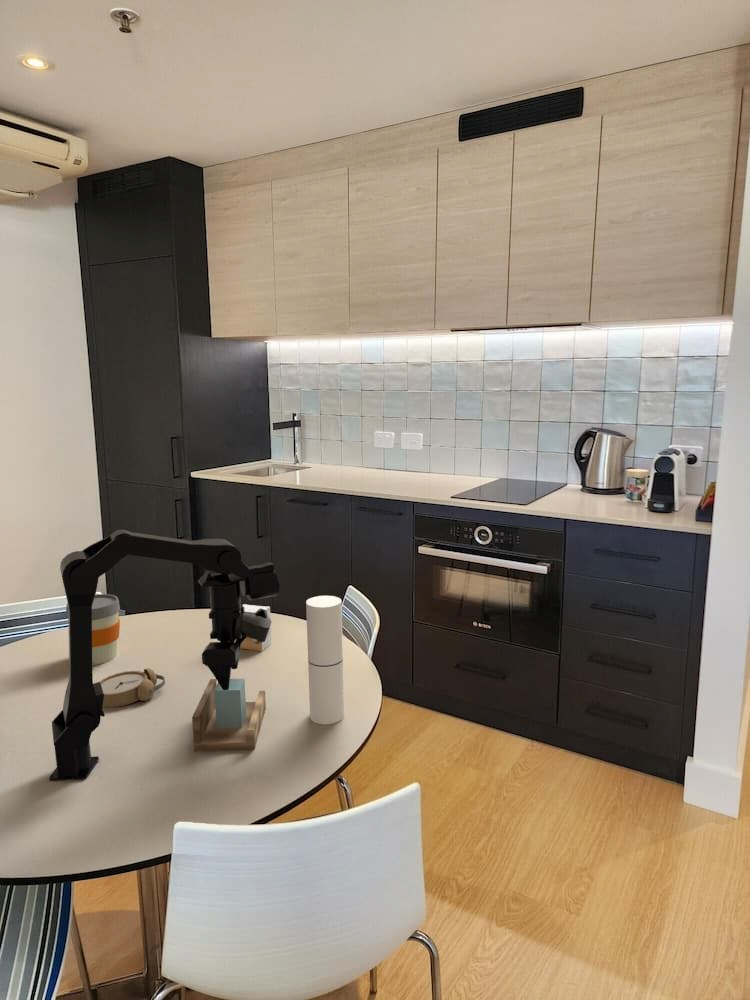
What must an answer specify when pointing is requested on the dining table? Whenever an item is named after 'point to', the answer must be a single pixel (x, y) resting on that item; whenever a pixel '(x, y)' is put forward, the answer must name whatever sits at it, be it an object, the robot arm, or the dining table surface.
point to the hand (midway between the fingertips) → (230, 678)
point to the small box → (253, 643)
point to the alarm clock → (130, 687)
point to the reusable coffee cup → (104, 627)
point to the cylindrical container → (325, 659)
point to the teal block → (230, 704)
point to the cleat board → (225, 738)
